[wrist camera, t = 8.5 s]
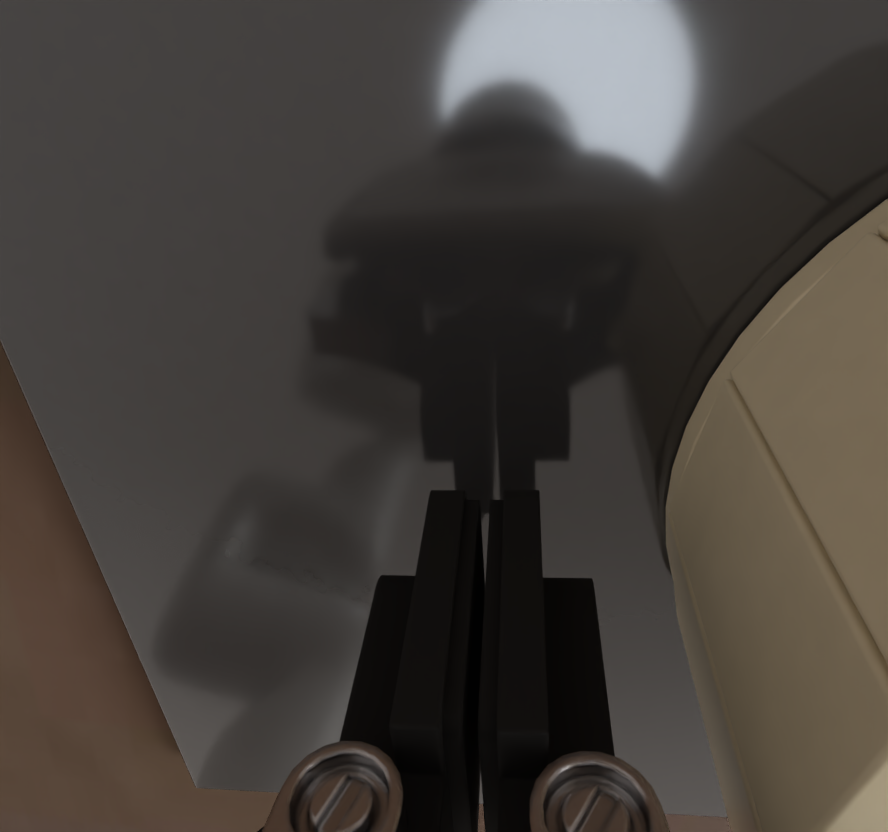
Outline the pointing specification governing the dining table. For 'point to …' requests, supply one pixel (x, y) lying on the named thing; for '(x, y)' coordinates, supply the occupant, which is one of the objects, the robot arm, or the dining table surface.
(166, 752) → the dining table surface
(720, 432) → the pot
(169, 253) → the cooktop
